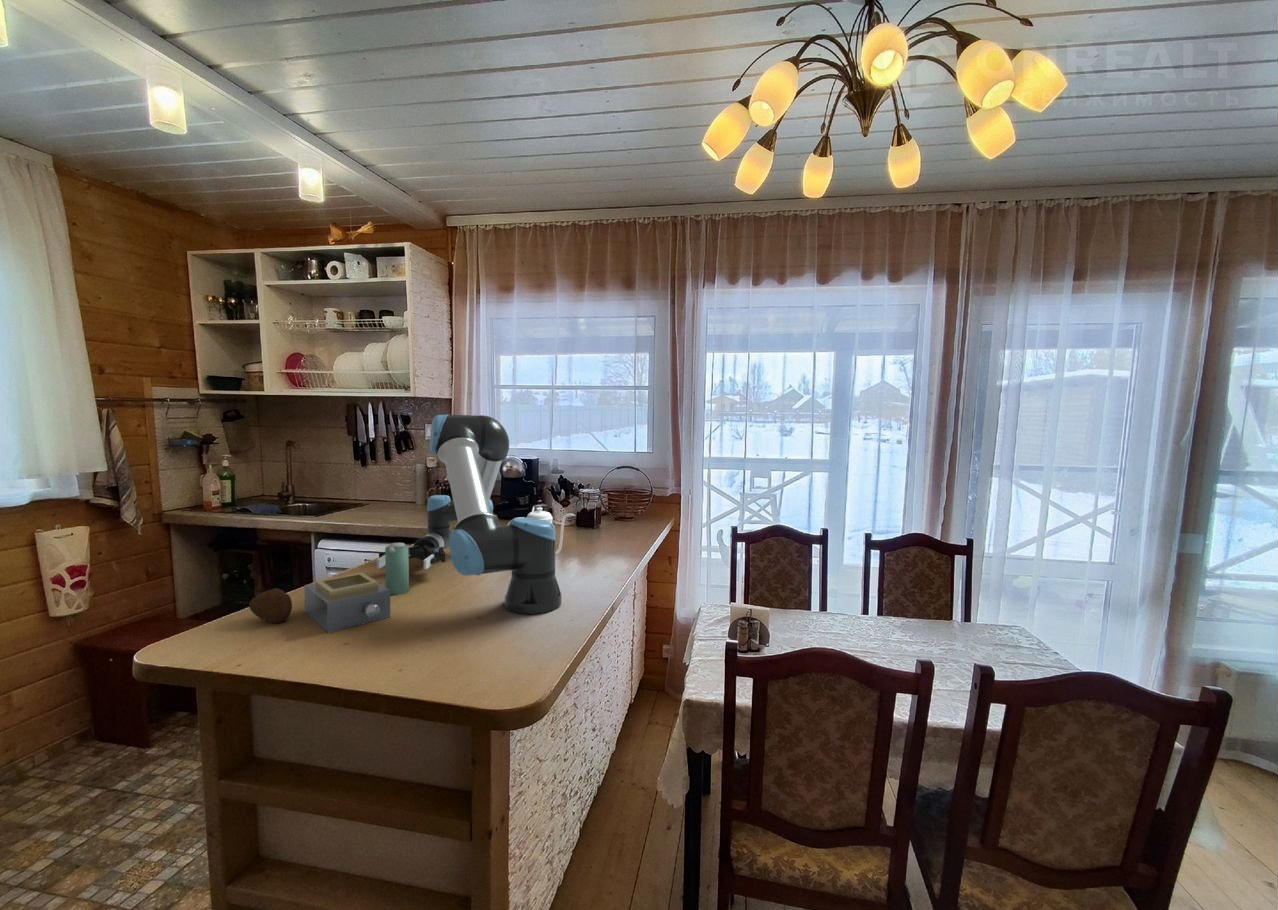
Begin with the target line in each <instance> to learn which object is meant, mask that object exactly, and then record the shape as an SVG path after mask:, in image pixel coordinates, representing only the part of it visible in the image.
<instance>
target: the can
mask: <svg viewBox="0 0 1278 910" xmlns="http://www.w3.org/2000/svg"><path fill="white" fill-rule="evenodd" d="M408 547H409V545H407V544H405V543H404V542H393V543H389V544H388V545H387V546H385V548H384V549H385V550H384V552H385V566H384V567H385V587H386V588H388V589H390V596H398V595H397V594H401V595H403V593H404V594H407V593H409V591H410V586H409V585H410V576H409V573H410V572H409V571H410V570H409V563H410V562H409V560H410V559H409V556H410V555H409V552H408ZM406 592H407V593H406Z"/></svg>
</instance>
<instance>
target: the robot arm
mask: <svg viewBox="0 0 1278 910" xmlns="http://www.w3.org/2000/svg"><path fill="white" fill-rule="evenodd" d="M509 439H510V438H509V436H508V433H507V431H506V429H505V427H504V426H503V425H502V423H500V422H499V421H498V420H497V419H495V418H494V417H491V416H489V415H476V414H475V415H473V414H472V415H471V414H468V415H467V414H448V413H446V414H437V415H435V416H434V417H433V418H432V422H431V427H430V436H429V452H430V453H431V454H434V455H437V457H438V459H439V460H440V462H442V463H443V464H445V468H446V472H447V473H446V474H447V477H448V482H449V486H450V491H451V496H452V499H451V497H450V496H449V495H446V494H443V495H442V494H436V495H431V496H429V497H428V498H427V507H426V511H427V512H426V514H427V518H426V519H427V529H426V530H427V531H426V532H427V533H426V535H424V536H421V537H420V538H419V539H418V540H416V541H415V542H414V544H413V545H412V546H408V552H409V560H411V559H418V560H421V561H423V570H428V569H429V568H430V567H431V566H432V565H435V564H438V563H439V562H441V563H446V559H447V557H446V554H447V553H446V552H445V550H446V549H448V547H449V554H450V558H451V562H452V565H453V567H454V569H455V571H456V572H457V573H458V574H460V575H461V576H481V575H485V574H493V573H498V572H499V573H500V572H505V571H511V577H510V581H509V584H508V587H507V590H506V594H505V596H504V608H505V609H507V611H509V612H511V613H516V614H521V615H523V614H524V615H535V614H543V613H547V612H552V611H554V610H556V609H558V608H559V607H561V605H562V593H561V589H560V586H559V583H558V580H557V577H556V551H557V550H556V548H557V545H556V544H557V543H556V542H557V538H556V536H557V535H556V526H555V525H554V524H553V522H552V523H551V522H548V521H545V520H540V519H533V518H526V517H524V518H518V517H514V518H515V519H514V518H513V519H511V520H512V521H511V522H510V524H511V525H510V524H509V525H508V524H507V525H508V526H507V525H501V524H500V520H499V518H498V517H497V516H496V515H495V514H493V511H494V505H493V501H492V499H491V496H492V493H493V489H494V486H495V484H496V480H497V477H498V474H499V471H500V468H501V465H502V463H503V462H502V461H504V460H505V459H506V458H507V456H508V453H509V449H510V440H509ZM477 456H478V457H477ZM451 522H457V523H456V524H455V525H454V528H453V530H452V529H451ZM383 567H385V551H382V552H378V558H377V559H376V569H377V570H380V569H381V568H383ZM558 606H559V607H558ZM557 607H558V608H557ZM551 610H552V611H551Z"/></svg>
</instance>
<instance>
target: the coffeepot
mask: <svg viewBox="0 0 1278 910" xmlns="http://www.w3.org/2000/svg"><path fill="white" fill-rule="evenodd" d="M569 517H576V515H575V514H574V513H566V514H564V515H563V517H562V519H561V524H560V535H559V536H560V537H559V544H558V545H559V546H558V549H557V550H556V554H558V553H560V552H561V550H562V547H563V537H564V536H563V535H564V528H565V527H564V525H565V520H566V518H569ZM515 518H516V517H514V518H513V519H515ZM517 518H533V519H540V520H545V521H548V522H551V523H552V524H553V519H554V517H553V516H552V514H551V513H550V512H548V511H545V510H543V507H537V508H536V511H531V512H529V513H528V514H527V516H526V517H524V516H523V517H522V516H521V517H519V516H518V517H517ZM513 519H510V521H509V522H508V523H507V524H506V526H508V525H510V524H511V522H512V520H513ZM556 554H555V555H556Z"/></svg>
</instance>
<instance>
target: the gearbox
mask: <svg viewBox="0 0 1278 910" xmlns="http://www.w3.org/2000/svg"><path fill="white" fill-rule="evenodd" d="M304 613H305V614H306V615H307V616H309V617H310V618H311V619H312V620H313V621H314V622H315V621H316V622H317V623H318V624H317V623H316V622H315V623H316V624H317V625H318V626H319V627H321V628H322V629H323V630H324V631H325V630H326V631H327V632H330V633H333V631H334V632H337V630H338V631H341V630H345V628H346V629H348V628H349V627H350V628H354V627H357V626H356V625H358V626H361V625H364V624H363V623H365V624H369V623H373V622H376V621H380V620H381V621H382V620H385V619H388V618H391V595H390V589H388V588H386V585H385V586H384V585H383V584H381V583H380V582H378V581H377V580H375V579H374V578H372V577H370V576H368V575H367V574H365V573H363V572H358V573H352V574H348V575H342V576H338V577H331V578H327V579H321V580H316V581H315V582H314V583H309V584H304ZM360 624H361V625H360ZM353 626H354V627H353ZM326 631H325V632H326ZM327 632H326V633H327Z"/></svg>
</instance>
